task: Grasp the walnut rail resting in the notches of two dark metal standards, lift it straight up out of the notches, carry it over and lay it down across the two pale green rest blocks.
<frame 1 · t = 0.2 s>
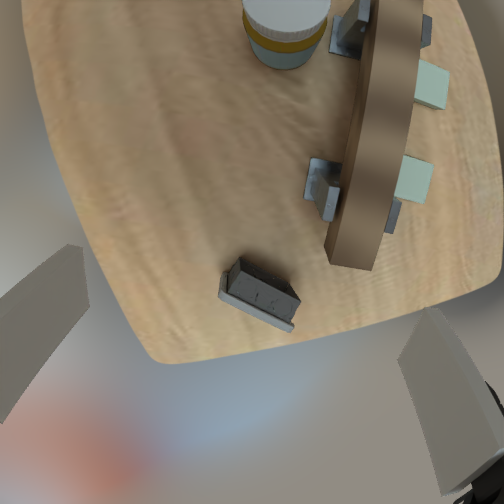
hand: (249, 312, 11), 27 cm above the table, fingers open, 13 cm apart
rail: (374, 110, 24), point 8 cm above the table, touching standard 1, standard 2
standard 2: (364, 42, 28), on the table
standard 1: (339, 184, 35), on the table
rest blocks: (414, 129, 32), on the table
electrical switch: (259, 274, 41), on the table
bottle: (282, 43, 29), on the table
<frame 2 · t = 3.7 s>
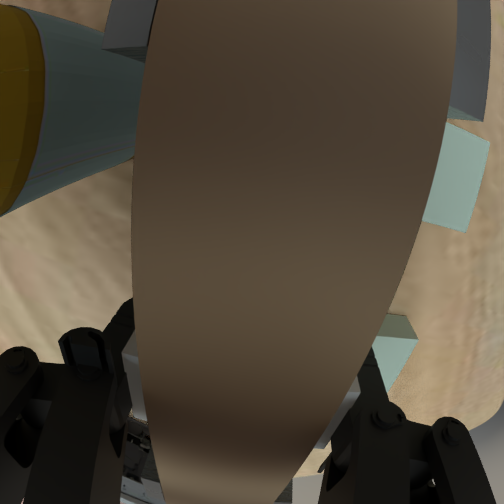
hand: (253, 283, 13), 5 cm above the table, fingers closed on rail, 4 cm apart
rail: (246, 332, 10), point 8 cm above the table, touching gripper, standard 1
standard 2: (289, 73, 13), on the table
standard 1: (238, 357, 21), on the table
rest blocks: (392, 263, 17), on the table
electrical switch: (150, 429, 27), on the table
bottle: (114, 103, 15), on the table
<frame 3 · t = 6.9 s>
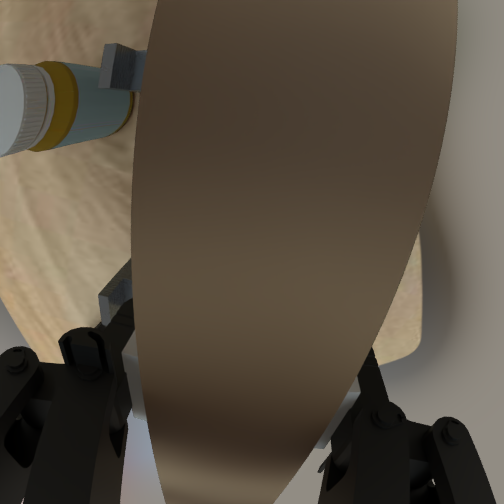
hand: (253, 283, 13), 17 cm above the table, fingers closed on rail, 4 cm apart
rail: (246, 333, 10), point 21 cm above the table, touching gripper
standard 2: (195, 81, 25), on the table
standard 1: (176, 258, 32), on the table
bottle: (106, 103, 26), on the table
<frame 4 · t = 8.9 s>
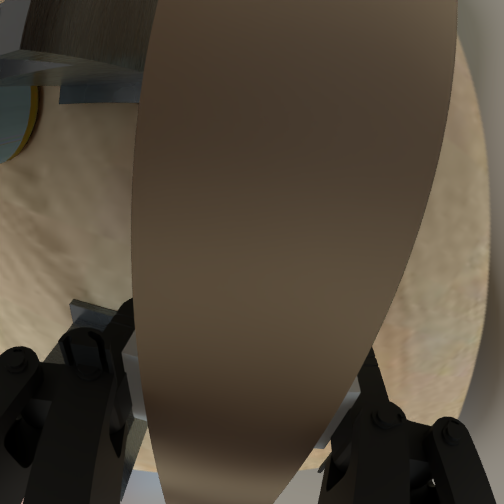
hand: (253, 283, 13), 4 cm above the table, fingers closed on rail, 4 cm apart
rail: (246, 333, 10), point 7 cm above the table, touching gripper
standard 2: (130, 57, 12), on the table
standard 1: (125, 340, 20), on the table
bottle: (11, 108, 14), on the table
when the fingers open (1 cm above the table, at t = 10.3 s): rail drops 2 cm, resting on rest blocks.
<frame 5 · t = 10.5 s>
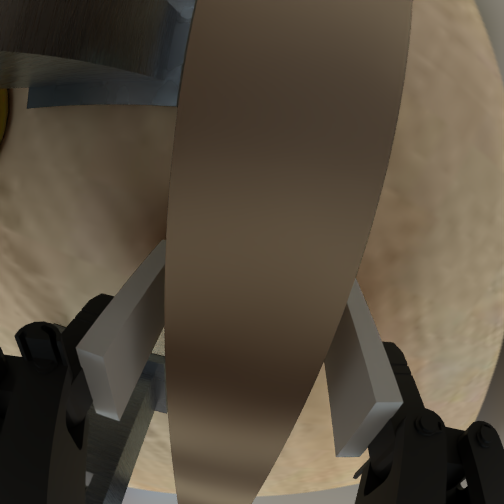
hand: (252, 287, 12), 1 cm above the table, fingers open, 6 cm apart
rail: (250, 302, 11), point 2 cm above the table, touching rest blocks
standard 2: (104, 50, 10), on the table
standard 1: (110, 368, 17), on the table
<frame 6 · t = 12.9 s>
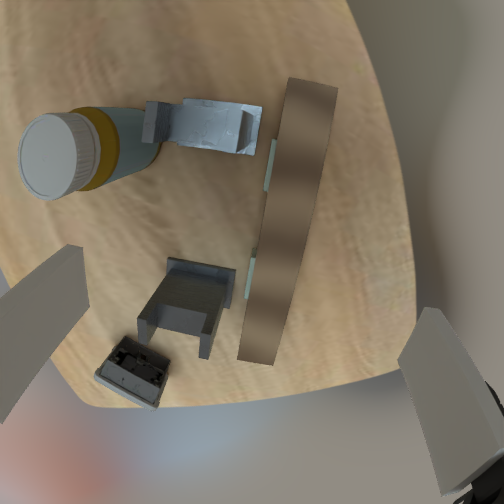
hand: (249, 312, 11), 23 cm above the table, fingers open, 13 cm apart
rail: (281, 229, 31), point 2 cm above the table, touching rest blocks
standard 2: (219, 125, 29), on the table
standard 1: (199, 282, 37), on the table
rest blocks: (281, 222, 33), on the table
electrical switch: (144, 350, 42), on the table
bottle: (134, 139, 31), on the table
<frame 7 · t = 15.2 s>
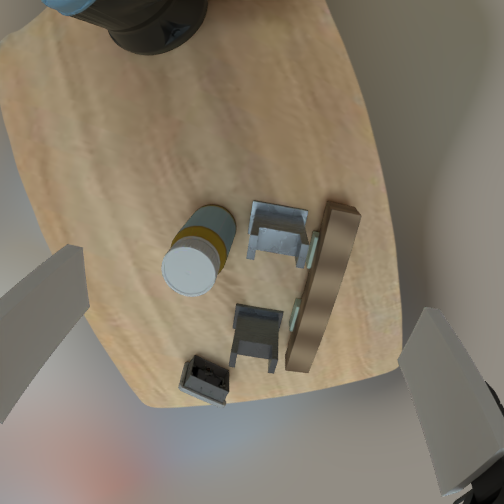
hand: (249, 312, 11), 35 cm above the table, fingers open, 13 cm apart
rail: (317, 290, 47), point 2 cm above the table, touching rest blocks
standard 2: (277, 221, 46), on the table
standard 1: (257, 319, 53), on the table
rest blocks: (315, 282, 49), on the table
electrical switch: (209, 364, 59), on the table
bottle: (213, 225, 47), on the table
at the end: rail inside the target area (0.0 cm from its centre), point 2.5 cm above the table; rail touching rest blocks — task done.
